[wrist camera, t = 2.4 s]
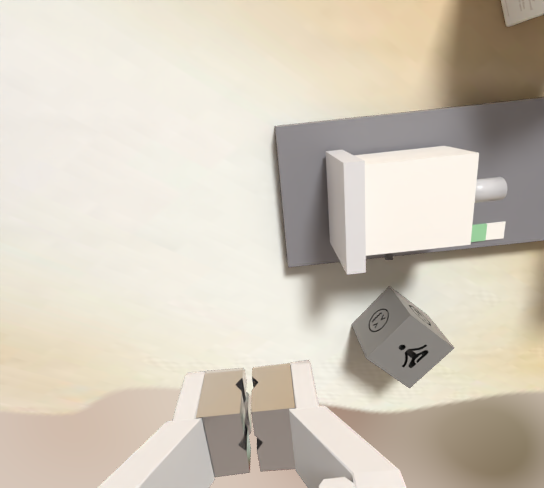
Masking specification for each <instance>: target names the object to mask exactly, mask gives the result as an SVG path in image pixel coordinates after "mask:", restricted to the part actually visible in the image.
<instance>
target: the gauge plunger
mask: <svg viewBox="0 0 544 488" xmlns="http://www.w3.org/2000/svg"><path fill="white" fill-rule="evenodd" d="M478 161H479V153H478V152H473V151H468V150H463V149H458V148H453V147H448V146H437V147H428V148H418V149H409V150H399V151H390V152H381V153H371V154H362V155H352V154H350V153H348V152H346V151H344V150H333V151H326V171H327V192H328V213H329V233H330V243H331V245H332V247H333V249H334V251H335V253H336V255H337V257H338V258H339V260H340V262H341V264H342V266H343V268H344V270H345V272H346V274H347V275H348V274H358V273H366V256H368V255H378V254H385V259H386V260H393V253H397V252H406V251H416V250H425V249H435V248H444V247H454V246H463V245H471V234H472V224H473V213H474V203H478V202H488V201H497V200H503V199H504V198H505V196H506V194H507V183H506V181H505V179H504V178H502V177H494V178H485V179H477V171H478Z"/></svg>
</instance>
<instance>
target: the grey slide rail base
mask: <svg viewBox="0 0 544 488" xmlns="http://www.w3.org/2000/svg"><path fill="white" fill-rule="evenodd" d="M275 134H276V145H277V155H278V166H279V177H280V188H281V198H282V209H283V220H284V231H285V241H286V252H287V261H288V267H296V266H305V265H315V264H324V263H334V262H340V260H339V258H338V257H337V255H336V253H335V251H334V249H333V247H332V245H331V243H330V233H329V213H328V192H327V171H326V151H333V150H344V151H346V152H348V153H350V154H352V155H362V154H371V153H381V152H390V151H399V150H409V149H418V148H428V147H437V146H448V147H453V148H458V149H463V150H468V151H473V152H478V153H479V161H478V171H477V179H485V178H494V177H502V178H504V179H505V181H506V183H507V194H506V196H505V198H504V199H503V200H497V201H488V202H478V203H474V213H473V224H472V234H471V245H463V246H454V247H444V248H435V249H425V250H416V251H406V252H397V253H393V256H400V255H410V254H419V253H429V252H438V251H448V250H457V249H467V248H476V247H486V246H495V245H505V244H514V243H524V242H533V241H543V240H544V97H541V98H532V99H523V100H513V101H504V102H495V103H485V104H476V105H467V106H457V107H448V108H439V109H429V110H420V111H411V112H401V113H392V114H383V115H373V116H364V117H355V118H345V119H336V120H327V121H317V122H308V123H298V124H289V125H280V126H275ZM381 257H385V254H378V255H368V256H366V259H372V258H381Z"/></svg>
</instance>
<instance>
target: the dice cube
mask: <svg viewBox="0 0 544 488" xmlns="http://www.w3.org/2000/svg"><path fill="white" fill-rule="evenodd" d="M352 327H353V329H354V331H355V334H356V336H357V338H358V341H359V343H360V345H361V348H362V350H363V352H364V355H365V357H366V359H368V360H369V361H370V362H372V363H373V364H375V365H376V366H378V367H379V368H381V369H382V370H384V371H385V372H386V373H388V374H389V375H391V376H392V377H394V378H395V379H397V380H398V381H400V382H401V383H402V384H404V385H405V386H407V387H408V388H411V387H412V386H413V385H414V384H415V383H416V382H417V381H418V380H419V379H421V378H422V377H423V376H424V375H425V374H426V373H427V372H428V371H429V370H431V369H432V368H433V367H434V366H435V365H436V364H437V363H438V362H439V361H441V360H442V359H443V358H444V357H445V356H446V355H447V354H448V353H449V352H451V351H452V350H453V349H454V347H453V346H452V344H451V343H450V342H449V341H448V340H447V338H446V337H445V336H444V335H443V333H442V332H441V331H440V330H439V328H438V327H437V326H436V325H435V324H434V322H433V321H432V320H431V319H430V317H429V316H428V315H427V314H425V313H424V312H423V311H422V310H420V309H419V308H418V307H416V306H415V305H414V304H412V303H411V302H410V301H409V300H407V299H406V298H405V297H403V296H402V295H401V294H399V293H398V292H397V291H396V290H394V289H393V288H392V287H390V286H389V287H388V288H387V289H386V290H385V291H384V292H383V293H382V294H381V295H380V296H379V297H378V298H377V299H376V300H375V301H374V302H373V303H372V304H371V305H370V306H369V307H368V308H367V309H366V310H365V311H364V312H363V313H362V314H361V315H360V316H359V317H358V318H357V319H356V320H355V321H354V322H353V323H352Z"/></svg>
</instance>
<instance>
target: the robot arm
mask: <svg viewBox="0 0 544 488" xmlns="http://www.w3.org/2000/svg"><path fill="white" fill-rule="evenodd" d="M252 379H253V387H254V388H253V389H252V400H251V402H252V403H251V409H250V399H249V394H248V393H247V392H246V385H247V379H246V374H245V369H244V368H235V369H222V370H210V371H200V372H189V373H187V374H186V376H185V377H184V381H183V384H182V388H181V391H180V395H179V398H178V402H177V405H176V409H175V412H174V416H173V419H172V421H169V422H165V423H164V424H163V425H162V426H161V427H160V428H159V429H158V430H157V431H156V432H155V433H154V434H153V435H152V436H151V437H150V438H149V439H148V440H147V441H146V442H145V443H143V444H142V445H141V446H140V447H139V448H138V449H137V450H136V451H135V452H134V453H133V454H132V455H131V456H130V457H129V458H128V459H127V460H126V461H125V462H124V463H123V464H122V465H120V466H119V467H118V468H117V469H116V470H115V471H114V472H113V473H112V474H111V475H110V476H109V477H108V478H107V479H106V480H105V481H104V482H103V483H102V484H101V485H99V486H98V487H97V488H210V486H211V485H212V483H213V482H214V480H215V478H214V477H220V476H228V475H235V474H243V473H249V472H250V454H251V447H250V441H249V434H250V433H251V414H252V421H253V427H254V434H255V436H256V437H257V454H258V460H259V466H260V471H275V470H289V469H296V472H297V473H298V474H299V476H300V477H301V479H302V480H303V482H304V483H305V484H306V486H307V487H308V488H406V485H405V483H404V480H403V478H402V475H401V472H400V470H399V469H398V468H397V467H395V466H394V465H393V464H392V463H391V462H390V461H388V460H387V459H386V458H385V457H384V456H383V455H382V454H380V453H379V452H378V451H377V450H376V449H375V448H373V447H372V446H371V445H370V444H369V443H368V442H367V441H365V440H364V439H363V438H362V437H360V436H359V435H358V434H357V433H356V432H355V431H354V430H353V429H352V428H350V427H349V426H348V425H347V424H346V423H345V422H343V421H342V420H341V419H340V418H339V417H338V416H336V415H335V414H334V413H333V412H332V411H331V410H330V409H328V408H327V407H326V406H319V402H318V397H317V392H316V388H315V383H314V378H313V373H312V368H311V363H310V361H309V360H305V361H297V362H291V363H286V364H276V365H267V366H258V367H253V368H252Z"/></svg>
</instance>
